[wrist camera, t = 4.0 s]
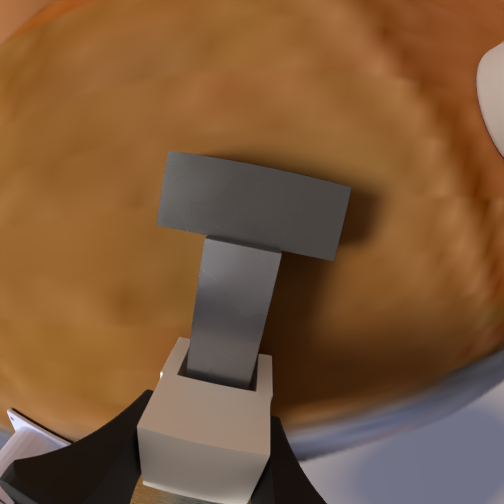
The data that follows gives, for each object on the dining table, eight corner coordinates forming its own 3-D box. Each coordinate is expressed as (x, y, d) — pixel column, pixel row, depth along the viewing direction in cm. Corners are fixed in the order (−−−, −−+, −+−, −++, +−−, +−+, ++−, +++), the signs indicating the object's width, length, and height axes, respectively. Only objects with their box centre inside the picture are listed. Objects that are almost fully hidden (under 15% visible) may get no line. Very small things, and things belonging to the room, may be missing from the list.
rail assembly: (264, 475, 16) (262, 547, 10) (145, 451, 16) (119, 517, 10) (361, 192, 12) (439, 207, 6) (165, 152, 11) (84, 135, 6)
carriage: (253, 415, 14) (248, 506, 8) (173, 399, 14) (140, 483, 8) (271, 355, 13) (273, 455, 7) (179, 336, 13) (133, 424, 7)
